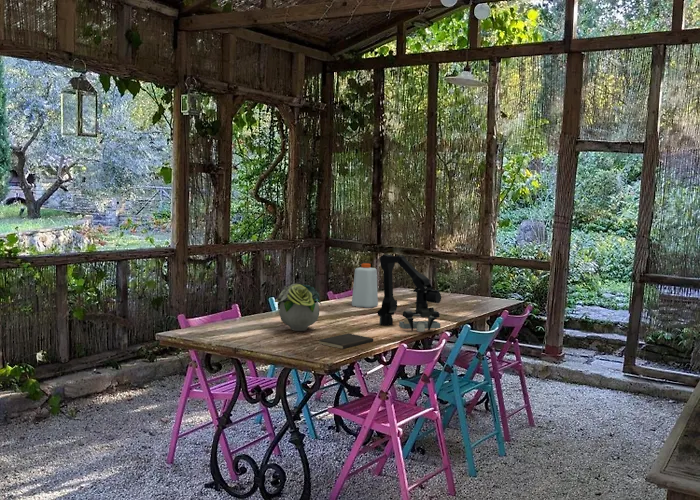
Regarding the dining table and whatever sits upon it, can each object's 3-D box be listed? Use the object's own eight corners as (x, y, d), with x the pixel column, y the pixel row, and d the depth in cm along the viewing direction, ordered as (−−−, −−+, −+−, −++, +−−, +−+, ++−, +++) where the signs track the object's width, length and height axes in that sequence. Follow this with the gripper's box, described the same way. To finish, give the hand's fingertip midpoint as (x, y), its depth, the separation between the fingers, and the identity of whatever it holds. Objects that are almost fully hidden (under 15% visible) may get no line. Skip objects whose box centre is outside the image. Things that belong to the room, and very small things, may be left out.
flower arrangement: (269, 326, 346) (270, 281, 344) (314, 324, 355) (315, 280, 353) (281, 335, 323) (282, 287, 321) (328, 333, 331) (330, 286, 330)
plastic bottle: (359, 303, 433) (360, 262, 431) (379, 305, 427) (381, 263, 424) (349, 306, 420) (350, 263, 417) (370, 308, 413) (371, 265, 411)
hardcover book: (317, 344, 307) (317, 339, 307) (348, 337, 325) (348, 333, 325) (343, 350, 297) (343, 345, 297) (373, 342, 315) (373, 338, 314)
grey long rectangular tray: (403, 330, 345) (403, 324, 344) (399, 327, 352) (399, 321, 352) (440, 329, 350) (440, 323, 349) (435, 327, 357) (435, 320, 357)
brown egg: (405, 328, 347) (405, 317, 346) (402, 326, 351) (402, 316, 350) (412, 327, 348) (413, 317, 347) (410, 326, 352) (410, 316, 351)
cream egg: (417, 333, 338) (418, 323, 337) (415, 331, 342) (415, 321, 342) (425, 333, 339) (426, 322, 338) (422, 331, 343) (423, 321, 343)
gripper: (409, 303, 329) (408, 333, 330) (443, 303, 334) (442, 333, 335) (402, 300, 340) (401, 329, 341) (436, 300, 344) (435, 328, 345)
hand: (420, 330), depth 340 cm, fingers open, 9 cm apart
